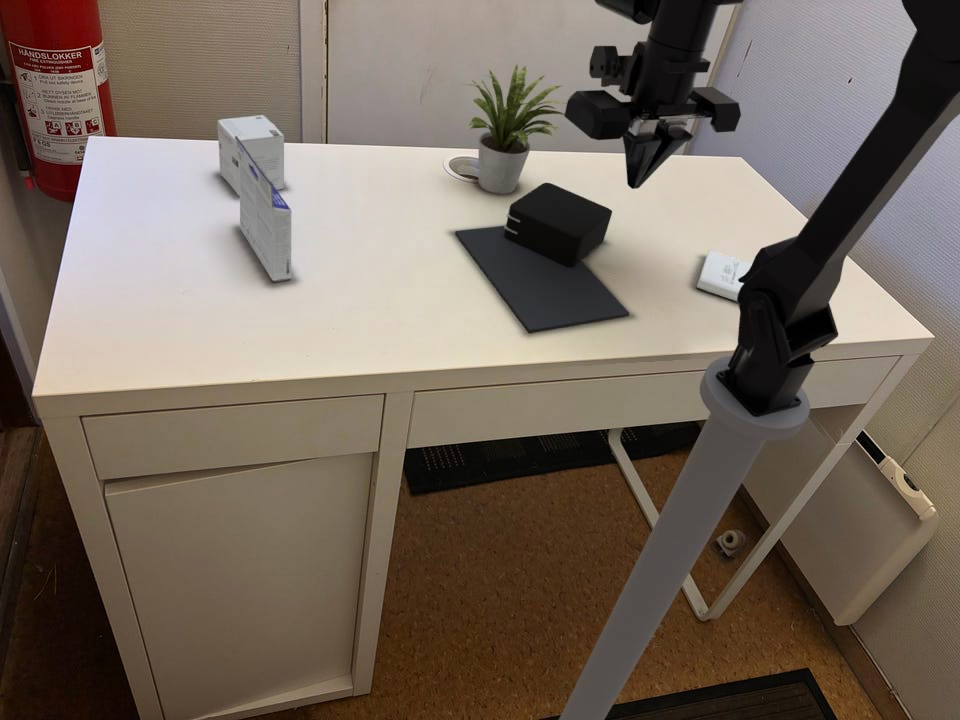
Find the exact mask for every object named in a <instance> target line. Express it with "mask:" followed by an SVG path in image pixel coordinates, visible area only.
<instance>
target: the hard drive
mask: <svg viewBox="0 0 960 720" xmlns="http://www.w3.org/2000/svg"><path fill="white" fill-rule="evenodd" d="M751 266H752V263H750V262H748V261H746V260H745V261H744V260H741V259H738V258H735V257H732V256H729V255H726V254H724V253H723V254H722V253H720V252H718V251H713V250H710V249H708V252H707V254H706V256H705V259H704V262H703V265H702V268H701V270H700V275H699V277H698V280H697V283H696V288H698V289H699V290H700V289H701V290H703V291H706V292H707V293H711V294H715V295H717V296H721V297H724V298H726V299H728V300H731V301H735V302H737V296H738V293H739V290H740V288H741V287H742V285H743V284H744V283H740V282H739V281H738V279H739V278H741V277H742V276H744V275H745V274H746V273H747V272H748V271H749V269H750V267H751Z"/></svg>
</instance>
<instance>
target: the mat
mask: <svg viewBox="0 0 960 720" xmlns="http://www.w3.org/2000/svg"><path fill="white" fill-rule="evenodd" d="M504 226H505V225H500V226H490V227H479V228H471V229H470V228H469V229H461V230H455V232H454V234H455V236H456V237H457V239H458V240H460V242H461V244H462V245H463V247H464V248H465V249H466V250H467V252H468V253H469V254H470V256H471V257H472V258H473V260H474V261H475V263H476V265H478V266H479V267H480V269H481V270H482V272H483V273H484V275H485V276H486V277H487V279H488V280H489V281H490V282H491V284H492V285H493V287H494V288H495V290H496V291H497V292H498V293H499V295H500V296H501V298H502V299H503V300H504V301H505V303H506V304H507V305H508V307H509V308H510V310H511V311H512V312H513V314H514V315H515V316H516V318H517V319H518V321H519V322H520V323H521V324H522V326H523V327H524V328H525V330H526V331H527V333H529V334H531V333H536V332H542V331H543V332H544V331H548V330H549V331H550V330H554V329H559V328H560V329H561V328H566V327H571V326H577V325H578V326H579V325H583V324H588V323H594V322H601V321H606V320H607V321H608V320H613V319H618V318H623V317H629V316H630V314H631V313H630V312H629V310H628V309H627V308H626V307H625V306H624V305H623V304H622V303H621V301H619V300H618V299H617V297H616V296H615V295H614V294H613V293H612V292H611V290H610V289H608V287H607V286H606V285H605V284H604V283H603V282H602V281H601V280H600V279H599V278H598V277H597V276H596V274H595V273H594V272H593V271H592V270H591V268H589V266H588V265H587V264H586V263H585V262H584V261H583V259H582V260H581V261H580V262H579V263H578V264H576V265H575V266H573V267H569V266H566V265H563V264H561V263H559V262H557V261H555V260H553V259H551V258H548V257H546V256H544V255H542V254H540V253H538V252H536V251H534V250H531V249H529V248H527V247H525V246H523V245H521V244H519V243H517V242H514V241H512V240H510V239H508V238H507V237H505V235H504V233H505V228H504Z"/></svg>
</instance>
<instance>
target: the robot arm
mask: <svg viewBox="0 0 960 720" xmlns="http://www.w3.org/2000/svg"><path fill="white" fill-rule="evenodd" d="M594 2H595V4H596V5H598V6H599V7H600V8H603V9H604V10H607V11H609V12H611V13H614V14H616V15H618V16H620V17H621V18H623V19H626V20H628V21H631V22H633V23H635V24H637V25H639V26H640V25H641V26H645V25H648V24H650V23H651V24H650V26H649V27H650V28H649V31H648V33H647V37H646V41H642V40H641V41H637V42H636V44H635V45H634V47H633V50H632V54H630V55H628V54H627V55H619V52H618V48H617V46H616V45H594V47H593V50H592V53H591V56H590V59H589V65H588V74H589V76H590V78H591V79H600V87H601V88H608V87H610V86H616V87H618V86H619V87H618V92H619V93H620V94H621V95H623V96H625V97H626V96H628V97H630V99H629V101H620V100H619V99H618V98H616V97H615V96H614V95H612V94H611V93H609V92H608V91H606V90H605V89H595V90H576V91H574V93H572V94H571V95H570V96H569V97H568V99H567V102H566V103H567V104H566V107H565V111H564V114H565V115H563V116H564V118H565V119H566V120H568V121H569V122H570V123H571V124H573V125H574V126H575V127H576V128H578V129H579V130H580V131H581V132H582V133H584V135H586V136H588V137H589V138H590V139H593V140H596V141H607V140H620V139H622V142H623V147H624V155H625V156H624V157H625V169H626V170H625V171H626V182H627V186H628V187H629V188H631V190H636V189H639V188H640V187H642V185H644V184H645V182H646V181H647V180H648V179H649V178H650V177H651V176H652V175H653V174H654V173H655V172H656V171H657V170H658V169H659V167H661V166H662V165H663V164H664V163H665V162H666V160H668V159H669V158H670V157H671V156H672V155H674V153H675V152H676V151H678V150H679V149H680V148H681V147H682V146H683V145H684V144H686V143H687V142H691V141H692V140H693V138H694V135H693V134H692V133H691V132H689V131H688V130H687V127H688V120H691V119H708V118H709V119H710V118H711V119H710V122H709V125H710V127H711V130H712V131H713V132H715V133H731V132H736V129H737V127H738V125H739V122H740V119H741V117H742V112H741V108H740V102H738V101H737V100H734V99H733V98H732V97H730V96H729V95H727V94H725V93H724V92H722V91H720V90H718V89H717V88H716V87H713V86H695V83H696V80H697V77H698V74H703V73H705V74H706V73H707V74H708V72H709V69H710V66H711V63H712V62H711V61H710V60H708V59H706V58H704V56H705V53H706V50H707V47H708V44H709V42H710V41H709V40H710V37H711V35H712V32H713V29H714V26H715V23H716V19H717V17H718V13H719V10H720V7H722V6H735V5H736V6H737V5H742V4H744V2H745V0H594ZM901 4H902V6H903V9H904V10H905V13H906V14H907V15H908V18H909V19H910V21H911V22H912V24H913V26H914V27H915V29H916V31H915V32H914V35H913V37H912V40H911V41H910V43H909V46H908V48H907V50H906V51H905V54H904V56H903V58H902V60H901V63H900V68H899V71H898V77H897V82H896V86H895V90H894V95H893V97H892V99H891V101H890V103H889V105H888V106H887V107H886V108H885V110H884V112H883V113H882V115H880V117H879V119H878V120H877V122H876V123H875V125H874V126H873V127H872V128H871V130H870V131H869V133H868V135H867V136H866V137H865V138H864V140H863V141H862V143H861V144H860V146H859V147H858V149H857V150H856V151H855V153H854V155H853V156H852V157H851V159H849V161H848V163H847V164H846V166H845V167H844V169H843V170H842V172H841V173H840V174H839V176H838V177H837V179H835V181H834V183H833V184H832V185H831V187H830V189H829V190H828V191H827V193H826V194H825V196H824V197H823V199H822V200H821V202H820V203H819V204H818V206H817V207H816V208H815V210H814V212H813V213H812V214H811V216H810V217H809V218H808V220H807V222H806V223H805V224H804V226H803V227H802V229H801V230H800V231H799V233H798V234H797V235H795V236H791V237H789V238H785V239H783V240H781V241H777V242H775V243H771V244H769V245H766V246H763V247H761V248H760V249H759V251H758V252H757V253H756V255H755V256H754V259H753V261H752V263H751V264H752V266H751V267H750V269H749V271H748V272H747V273H746V274H745V275H744V276H742V277H741V278H739V279H738V281H739V282H740V283H744V284H743V285H742V287H741V288H740V290H739V293H738V296H737V301H736V303H737V304H738V308H739V320H738V321H739V322H738V334H737V345H736V347H735V349H734V351H733V353H732V355H731V356H732V357H731V359H730V361H729V363H728V367H729V369H727V370H722V371H718V372H717V374H716V378H717V379H718V380H719V381H720V382H721V383H722V384H723V385H724V387H725V388H726V389H727V390H728V391H729V392H730V393H731V394H732V395H733V396H734V397H735V398H736V399H737V400H738V401H739V402H740V403H741V404H742V406H743V407H744V408H745V409H746V410H747V411H748V412H749V413H750V414H751V415H752V416H754V417H760V416H764V415H768V414H771V413H775V412H779V411H783V410H787V409H790V408H794V407H798V406H800V404H801V402H802V401H801V400H800V399H799V398H798V397H797V396H796V394H797V393H798V391H799V389H800V387H801V388H802V385H803V384H804V382H805V381H806V379H807V377H808V376H809V373H810V372H811V370H812V369H813V367H814V365H815V364H816V361H815V360H814V359H813V358H812V357H811V353H812V352H815V351H817V350H819V349H820V348H824V347H826V346H828V345H829V344H830V343H832V342H833V341H834V340H835V339H837V338H838V337H839V330H838V328H837V325H836V321H835V317H834V315H833V312H832V308H831V305H830V301H831V299H832V297H833V295H834V294H835V292H836V289H837V288H838V285H840V282H841V279H842V278H841V277H842V273H843V267H844V264H845V263H844V262H845V260H846V257H847V256H848V254H849V253H850V252H851V251H852V249H853V248H854V246H855V245H856V244H857V243H858V242H859V240H860V239H861V238H862V237H863V235H864V234H865V232H866V231H867V230H868V229H869V228H870V226H871V225H872V224H873V222H874V221H875V219H876V218H877V217H878V216H879V214H880V213H881V212H882V210H884V209H885V207H886V205H888V203H889V202H890V200H891V199H892V198H893V197H894V195H895V194H896V193H897V192H898V190H899V189H900V188H901V186H902V185H903V184H904V183H905V181H906V180H907V179H908V177H909V176H910V175H911V174H912V172H913V171H914V170H915V169H916V167H917V166H918V164H920V162H921V161H922V159H923V158H924V157H925V155H926V154H927V153H928V152H929V150H930V149H931V148H932V147H933V145H934V144H935V143H936V141H937V140H938V139H939V137H940V136H941V135H942V134H943V132H944V131H945V130H946V129H947V127H948V126H949V125H950V124H951V122H952V121H954V120H955V119H956V118H957V117H958V116H959V115H960V0H901Z"/></svg>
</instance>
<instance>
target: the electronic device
mask: <svg viewBox="0 0 960 720" xmlns="http://www.w3.org/2000/svg"><path fill="white" fill-rule="evenodd" d="M612 215H613V210H612V209H611V208H608V207H607V206H605V205H602V204H599V203H597V202H595V201H593V200H591V199H588V198H586V197H584V196H581V195H579V194H577V193H574V192H572V191H570V190H568V189H565V188H563V187H560V186H558V185H556V184H554V183H551V182H543V183H541V184H540V185H538V186H537V187H535V188H534V189H532V190H531V191H529V192H528V193H526V194H524V195H523V196H521V197H520V198H518V199H517V200H515V201H514V202H512V203H511V204H510V206H509V210H508V213H507V214H506V217H507V218H506V223H505V225H503V226H504V228H505V233H504V235H505V237H507V238H508V239H510V240H512V241H514V242H517V243H519V244H521V245H523V246H525V247H527V248H529V249H531V250H534V251H536V252H538V253H540V254H542V255H544V256H546V257H548V258H551V259H553V260H555V261H557V262H559V263H561V264H563V265H566V266H569V267H573V266H575V265H576V264H578V263H579V262H580V261H581V260H582V261H583V260H584V259H585V258H586V257H587V256H588V255H589V254H590V253H592V252H593V251H594V250H595V249H596V248H598V246H599V245H601V244H602V243H603V242H604V240H605V238H606V234H607V231H608V228H609V224H610V221H611V218H612Z"/></svg>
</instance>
